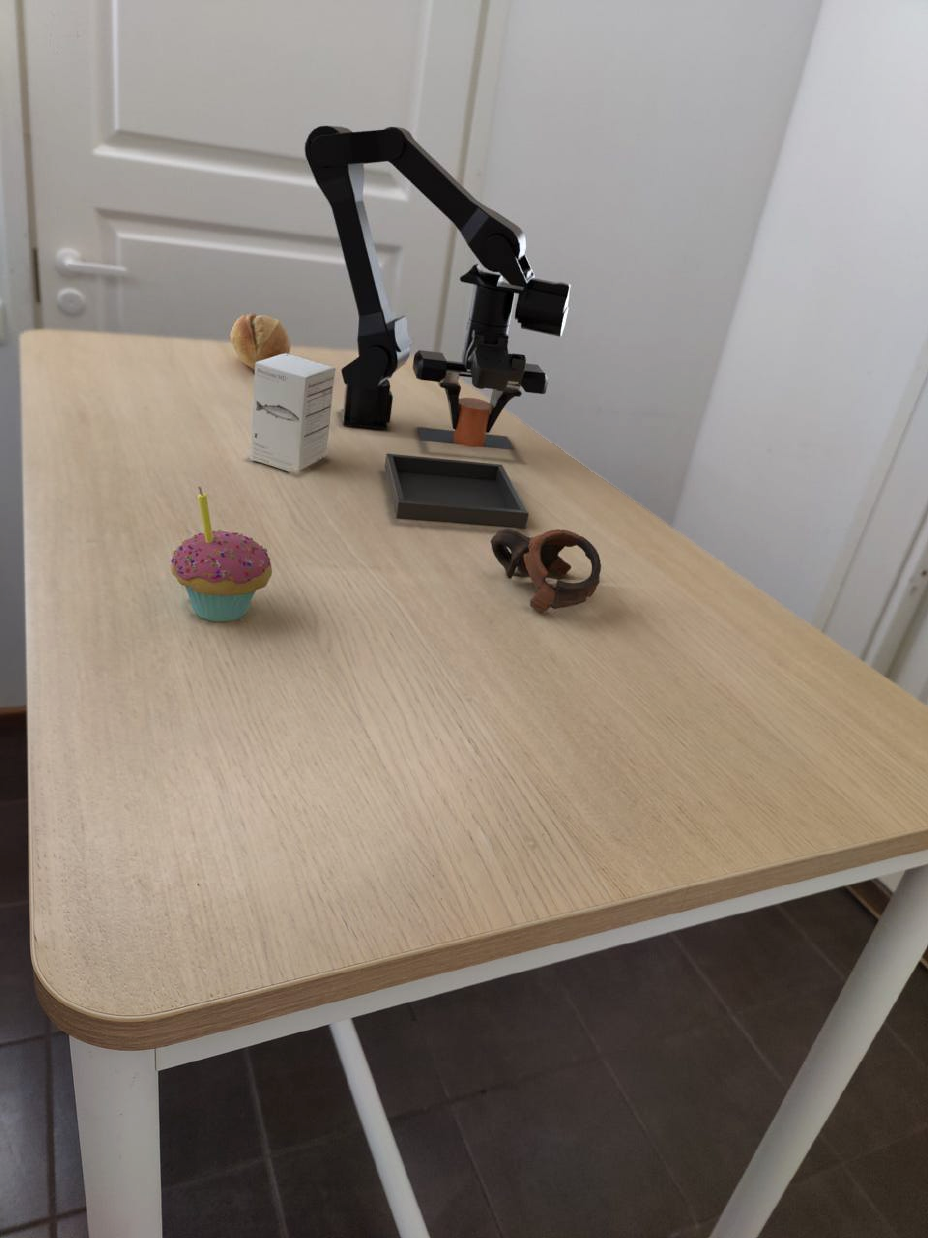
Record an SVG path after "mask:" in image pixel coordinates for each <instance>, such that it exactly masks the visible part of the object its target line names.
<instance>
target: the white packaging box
mask: <svg viewBox="0 0 928 1238" xmlns="http://www.w3.org/2000/svg"><path fill="white" fill-rule="evenodd" d="M336 369H337V368H336V367H335V366H332V365H328V364H325V363H321V362H317V361H313V360H311V359H307V358H303V357H300V356H297V355H293V354H290V353H289V354H286V353H285V354H280V355H277V356H274V357H271V358H267V359H264V360H261V361H258V362H256V363H255V370H254V379H253V380H254V382H253V398H252V416H251V434H250V435H251V436H250V451H249V460H250V461H253V462H258V463H261V464H264V465H267V466H270V467H274V468H277V469H279V470H283V471H286V472H290V469H292V470H295V471H301V470H303V469H305V468H307V467H309V466H311V465H313V464H315V463H316V462H318V461H320V460H322V459H324V458H326V457H327V454H328V453H327V451H328V442H329V435H330V426H331V425H330V424H331V415H332V414H331V412H332V405H333V404H332V403H333V393H334V385H335V384H334V383H335V376H336Z"/></svg>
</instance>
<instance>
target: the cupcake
mask: <svg viewBox="0 0 928 1238" xmlns="http://www.w3.org/2000/svg"><path fill="white" fill-rule="evenodd" d="M197 488H198V490H199V491H198V492H199V494H198V496H197V497H198V503H199V509H200V516H201V522H202V529H203V532H202V533H201V532H199V533H197V534H194V535H193V536H191V537H189V538H187V539H184V541H182V542H181V544H180V545H179V546H177V547H176V549H175V550H174V551H173V555H172V559H171V574H172V575H173V576H174V577H175V579H176V581H177V582H178V584H179V585H181V586H184V589H185V590H186V593H187V595H188V598H189V600H190V603H191V607H192V610H193V613H195V614H196V615H197V616H199V617H200V618H202V619H204V620H207V621H211V622H219V623H220V622H221V623H222V622H231V621H235V620H238V619H240V618H242V617H243V616H245V614H246V613H247V612H248V609H249V607H250V605H251V602H252V600H253V598H254V595H255V593H256V591H259V590H260V589H263V588H266V586H267V585H268V583H269V581H270V579H271V577H272V574H273V568H272V562H271V558H270V556H269V555H268V553H267V552H268V551H267V548H265V547H264V546H263V545H262V544H261V545H260V544H259V543H258V542H256V541H255V540H254V539H253V537H248V536H246V535H244V534H243V533H239V532H231V531H227V530H222V529H218V530H217V531H216V530H213V529H212V528H213V527H212V522H211V516H210V510H209V504H208V496H207V494H206V493H203V489H202V487H201V486H200V485H199V486H197Z"/></svg>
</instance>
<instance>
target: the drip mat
mask: <svg viewBox="0 0 928 1238" xmlns="http://www.w3.org/2000/svg"><path fill="white" fill-rule="evenodd" d="M416 429H417V433H418V436H419V438H420V441H421V442H431V443H441V444H452V445H456V444H455V443H454V442H453V437H454V431H455V430H449V429H440V428H431V427H420V426H417V428H416ZM482 448H490V449H499V450H508V451H509V450H511V451H515V448H514V445H513V444H512V443H511V441H510V439H509V437H508V436H506V435H499V434H489V433H486V436H485V441H484V446H483V447H482Z"/></svg>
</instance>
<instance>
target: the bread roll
mask: <svg viewBox="0 0 928 1238" xmlns="http://www.w3.org/2000/svg"><path fill="white" fill-rule="evenodd" d="M230 341H231V344H232V347H233V349H234V351H235V353H236V355H237V356H238V358H239V359H240V360H241V361H242V362H243V364H244V365H246V366H247V367H248V368H250V369H252V370H254V371H255V363H256V362H258V361H261V360H264V359H267V358H271V357H274V356H277V355H280V354H285V353H286V354H290V352H291V340H290V336H289V334H288V332H287V330H286V328H285V326H284V325H283V324H282V323H281V321H279V319H276V318H274V317H271V316H269V315H264V314H259V315H257V314H256V313H249V314H243V315H241V316H240V317H238V318H237V320H236V321H235V322H234V323H233V326H232V328H231V331H230Z"/></svg>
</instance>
